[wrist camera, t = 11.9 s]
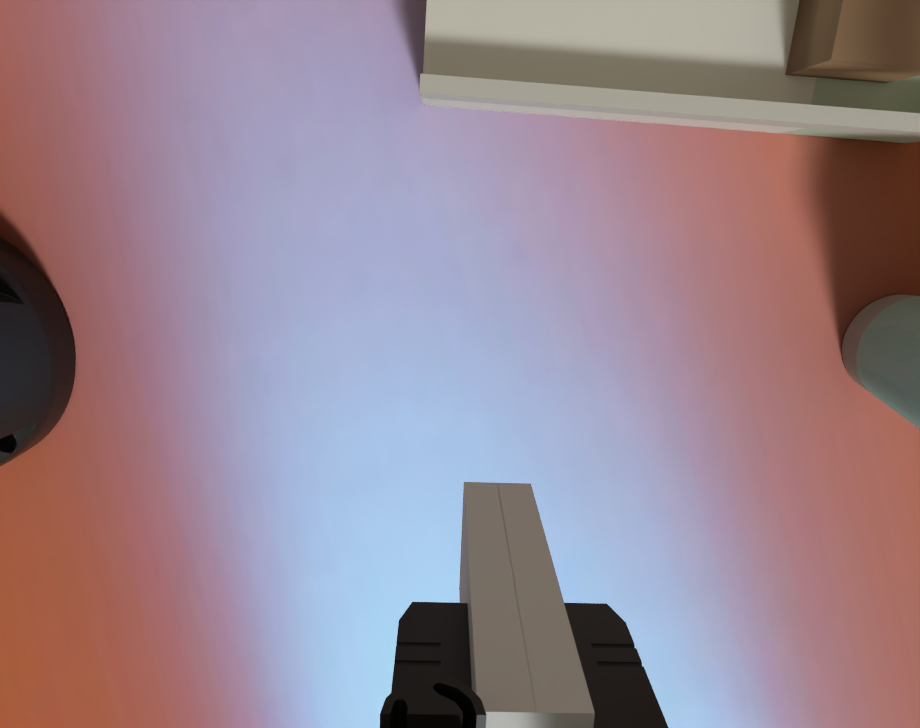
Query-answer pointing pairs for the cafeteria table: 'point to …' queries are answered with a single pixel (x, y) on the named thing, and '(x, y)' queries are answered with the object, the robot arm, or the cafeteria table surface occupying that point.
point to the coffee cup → (887, 352)
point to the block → (856, 40)
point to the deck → (651, 67)
